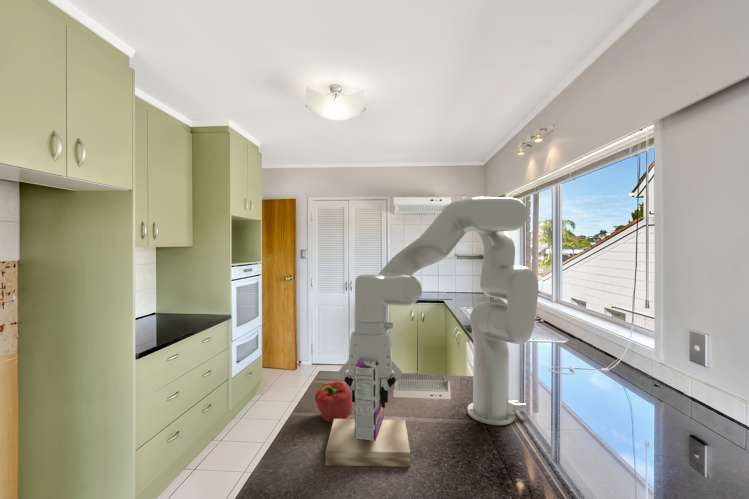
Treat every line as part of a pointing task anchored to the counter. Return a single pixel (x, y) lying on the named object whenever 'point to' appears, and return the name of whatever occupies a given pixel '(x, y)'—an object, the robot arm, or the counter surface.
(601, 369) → the counter surface
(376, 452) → the wavy beige tile
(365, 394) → the candy bar box
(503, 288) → the robot arm
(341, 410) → the vegetable
